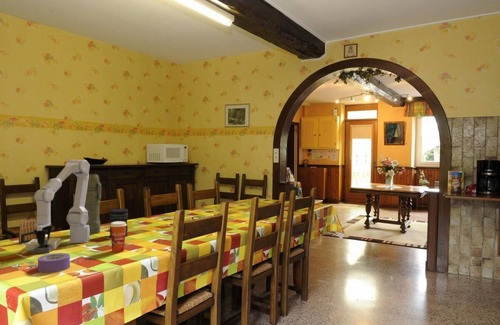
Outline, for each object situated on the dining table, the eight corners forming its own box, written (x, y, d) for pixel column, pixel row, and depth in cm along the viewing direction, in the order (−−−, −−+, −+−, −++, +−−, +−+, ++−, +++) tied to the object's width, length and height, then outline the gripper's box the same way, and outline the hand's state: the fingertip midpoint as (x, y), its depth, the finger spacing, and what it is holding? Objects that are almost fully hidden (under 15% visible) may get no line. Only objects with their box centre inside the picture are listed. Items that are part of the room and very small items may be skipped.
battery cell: (48, 248, 175) (48, 232, 175) (46, 249, 172) (46, 234, 172) (41, 248, 175) (41, 233, 174) (39, 250, 171) (39, 234, 171)
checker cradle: (52, 249, 177) (52, 244, 177) (48, 252, 171) (48, 247, 171) (32, 250, 175) (32, 245, 175) (27, 253, 169) (27, 248, 169)
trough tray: (60, 243, 188) (60, 238, 188) (55, 249, 178) (55, 243, 178) (32, 245, 185) (32, 239, 185) (25, 250, 175) (25, 244, 175)
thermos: (96, 234, 209) (96, 174, 208) (78, 233, 211) (78, 174, 210) (105, 231, 218) (105, 174, 217) (88, 230, 220) (88, 173, 219)
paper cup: (110, 253, 172) (110, 224, 171) (108, 249, 178) (109, 221, 178) (127, 251, 175) (128, 223, 175) (125, 248, 182) (125, 220, 182)
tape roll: (32, 269, 148) (32, 257, 148) (59, 262, 158) (59, 251, 158) (48, 275, 142) (48, 262, 142) (75, 267, 152) (75, 255, 151)
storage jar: (105, 236, 205) (105, 210, 205) (118, 233, 214) (118, 208, 214) (119, 238, 202) (119, 212, 201) (131, 234, 211) (131, 209, 210)
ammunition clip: (21, 244, 186) (20, 221, 186) (18, 243, 187) (18, 220, 187) (40, 239, 196) (39, 217, 196) (37, 239, 197) (37, 217, 197)
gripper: (39, 212, 179) (39, 239, 179) (29, 217, 165) (29, 246, 165) (54, 211, 181) (54, 238, 181) (46, 216, 167) (46, 246, 167)
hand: (43, 242), depth 173 cm, fingers open, 7 cm apart
